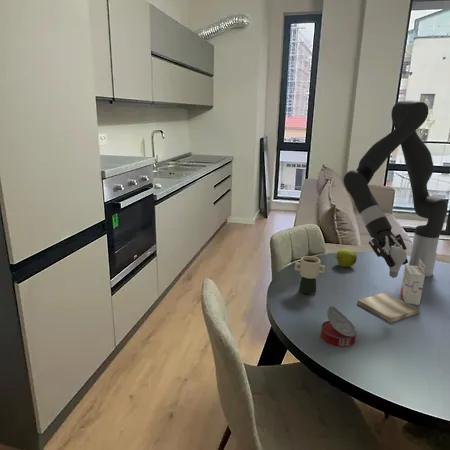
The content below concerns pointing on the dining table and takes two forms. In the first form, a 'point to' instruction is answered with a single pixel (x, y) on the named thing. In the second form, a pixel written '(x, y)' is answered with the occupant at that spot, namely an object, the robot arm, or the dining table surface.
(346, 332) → the canned food
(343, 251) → the apple
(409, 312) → the birch board
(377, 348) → the dining table surface
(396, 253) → the lightbulb
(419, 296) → the ink cartridge box
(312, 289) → the character mug
